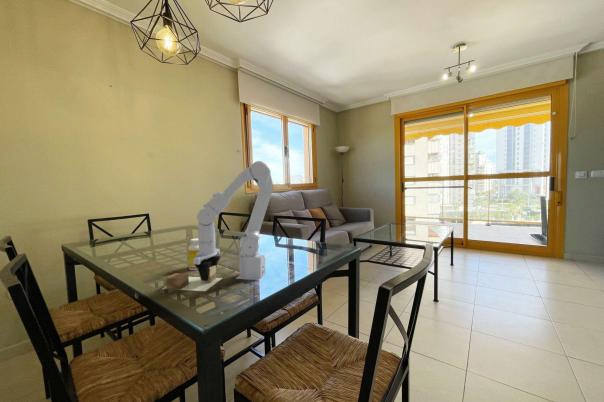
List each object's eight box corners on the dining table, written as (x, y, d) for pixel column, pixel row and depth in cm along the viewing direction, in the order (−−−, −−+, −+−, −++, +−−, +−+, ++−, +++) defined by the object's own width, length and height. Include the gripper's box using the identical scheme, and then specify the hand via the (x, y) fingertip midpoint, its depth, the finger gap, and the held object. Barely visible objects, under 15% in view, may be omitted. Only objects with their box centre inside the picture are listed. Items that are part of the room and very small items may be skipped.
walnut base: (188, 283, 89) (188, 273, 88) (179, 289, 84) (179, 278, 84) (176, 282, 89) (175, 273, 89) (166, 288, 84) (165, 278, 84)
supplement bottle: (199, 271, 103) (198, 241, 103) (185, 271, 104) (184, 240, 104) (209, 266, 110) (207, 237, 109) (195, 266, 111) (194, 237, 110)
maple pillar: (216, 278, 93) (215, 265, 93) (210, 282, 89) (210, 269, 89) (206, 278, 93) (205, 265, 93) (200, 282, 90) (199, 268, 89)
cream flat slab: (222, 279, 94) (222, 278, 93) (205, 292, 82) (205, 291, 82) (183, 278, 96) (183, 276, 96) (161, 290, 84) (161, 288, 84)
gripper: (207, 237, 98) (208, 271, 99) (184, 245, 84) (186, 285, 85) (224, 237, 97) (225, 271, 98) (203, 245, 83) (205, 286, 83)
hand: (208, 278), depth 91 cm, fingers closed on maple pillar, 4 cm apart
